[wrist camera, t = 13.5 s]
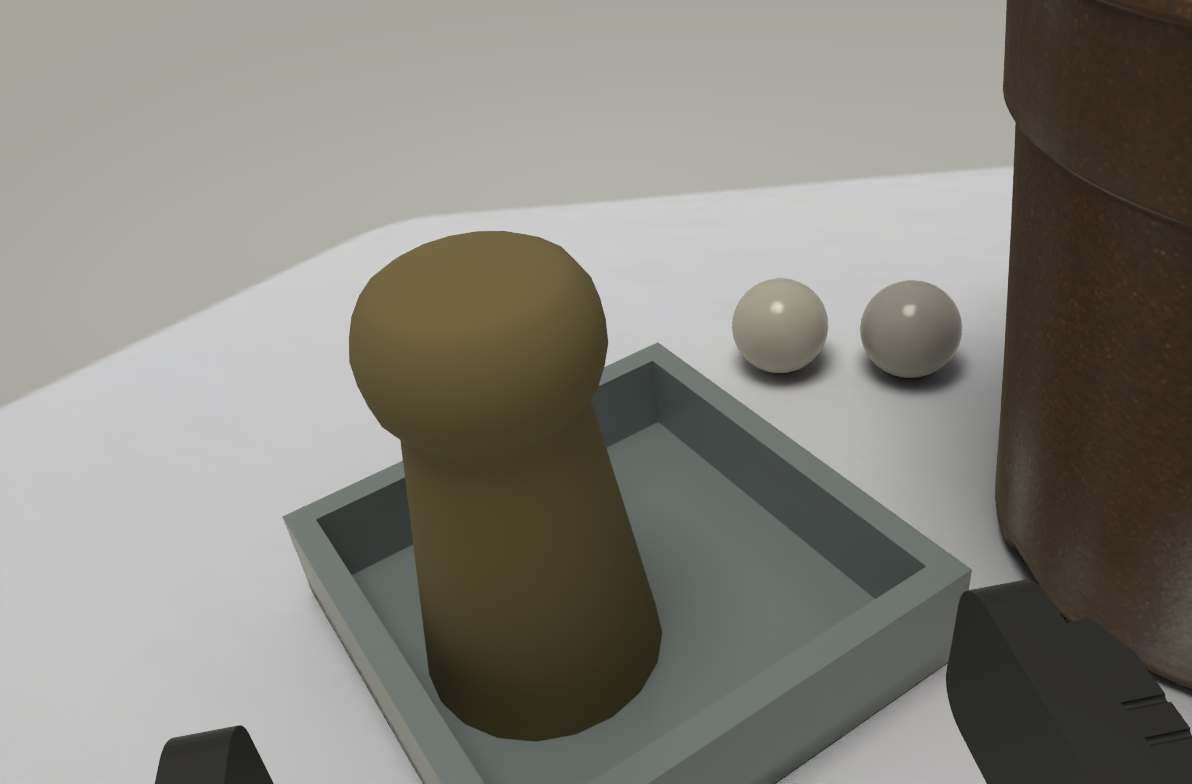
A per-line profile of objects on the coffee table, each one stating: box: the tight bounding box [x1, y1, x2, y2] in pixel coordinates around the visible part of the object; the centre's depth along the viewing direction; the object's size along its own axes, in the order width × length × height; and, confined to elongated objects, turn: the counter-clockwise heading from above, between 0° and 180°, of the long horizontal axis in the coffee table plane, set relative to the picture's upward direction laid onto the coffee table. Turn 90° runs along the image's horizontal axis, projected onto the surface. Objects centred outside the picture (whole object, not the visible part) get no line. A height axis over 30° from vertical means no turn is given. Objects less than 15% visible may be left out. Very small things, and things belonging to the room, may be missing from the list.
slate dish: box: [283, 343, 972, 784], centre depth 27 cm, size 12×12×3 cm
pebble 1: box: [732, 278, 828, 373], centre depth 35 cm, size 3×3×3 cm
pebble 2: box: [860, 280, 962, 378], centre depth 34 cm, size 3×3×3 cm
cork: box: [349, 231, 662, 741], centre depth 23 cm, size 6×6×11 cm
